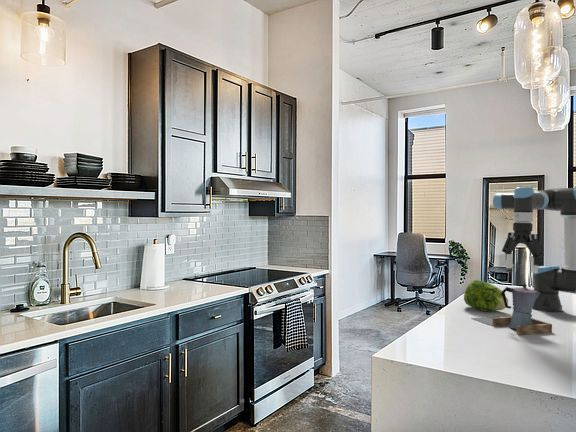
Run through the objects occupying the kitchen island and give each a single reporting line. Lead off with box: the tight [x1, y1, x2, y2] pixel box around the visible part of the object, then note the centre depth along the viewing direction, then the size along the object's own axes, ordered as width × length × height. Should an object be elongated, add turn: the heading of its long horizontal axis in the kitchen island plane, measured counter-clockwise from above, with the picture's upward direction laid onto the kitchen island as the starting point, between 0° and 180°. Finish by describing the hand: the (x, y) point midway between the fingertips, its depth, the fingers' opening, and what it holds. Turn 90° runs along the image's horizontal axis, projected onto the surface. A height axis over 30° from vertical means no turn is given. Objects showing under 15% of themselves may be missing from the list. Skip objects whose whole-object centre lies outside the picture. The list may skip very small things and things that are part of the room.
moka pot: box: [501, 283, 540, 331], centre depth 188 cm, size 10×15×20 cm, turn 78°
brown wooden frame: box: [491, 316, 553, 336], centre depth 189 cm, size 18×15×4 cm
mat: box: [471, 315, 499, 326], centre depth 202 cm, size 16×12×1 cm
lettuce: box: [463, 279, 509, 312], centre depth 223 cm, size 16×21×15 cm
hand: (521, 270), depth 188 cm, fingers open, 13 cm apart
